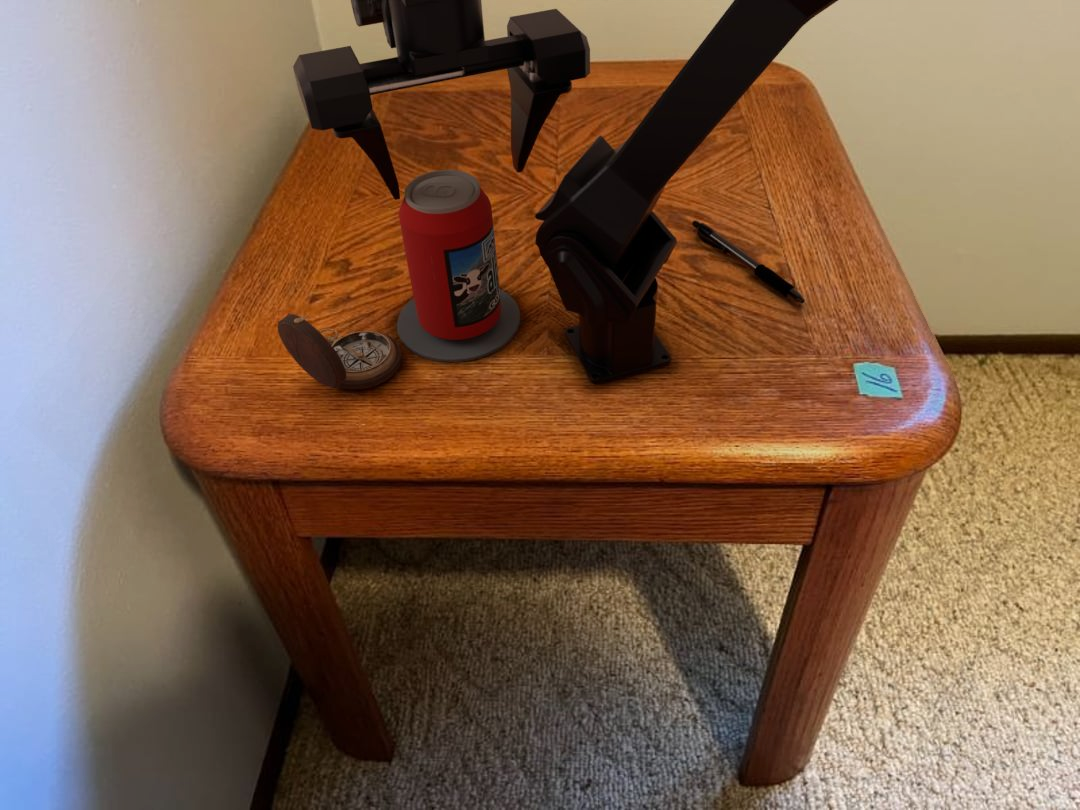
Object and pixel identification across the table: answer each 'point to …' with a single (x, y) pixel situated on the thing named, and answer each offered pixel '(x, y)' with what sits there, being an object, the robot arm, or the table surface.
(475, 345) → the felt coaster
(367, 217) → the table surface
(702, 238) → the pen
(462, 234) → the beverage can
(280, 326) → the compass
